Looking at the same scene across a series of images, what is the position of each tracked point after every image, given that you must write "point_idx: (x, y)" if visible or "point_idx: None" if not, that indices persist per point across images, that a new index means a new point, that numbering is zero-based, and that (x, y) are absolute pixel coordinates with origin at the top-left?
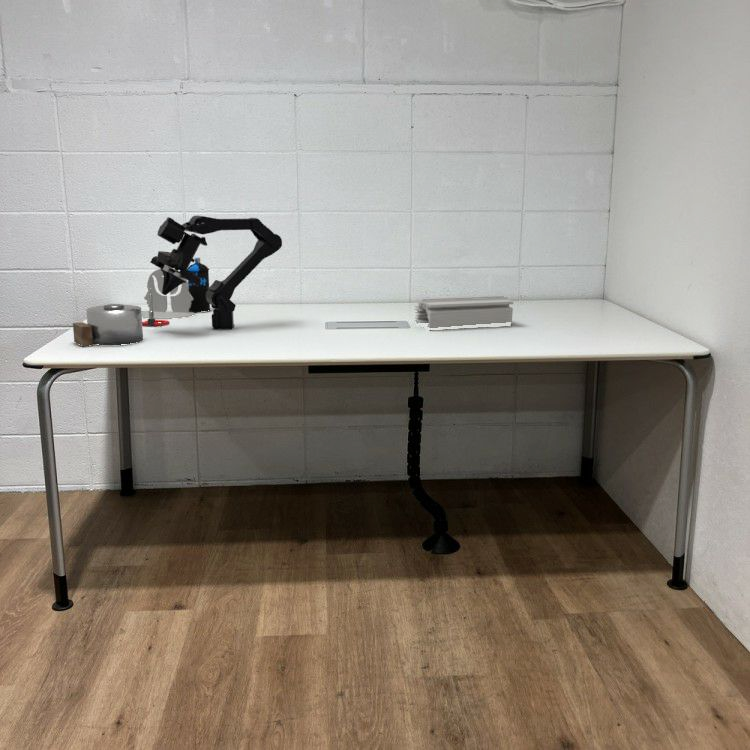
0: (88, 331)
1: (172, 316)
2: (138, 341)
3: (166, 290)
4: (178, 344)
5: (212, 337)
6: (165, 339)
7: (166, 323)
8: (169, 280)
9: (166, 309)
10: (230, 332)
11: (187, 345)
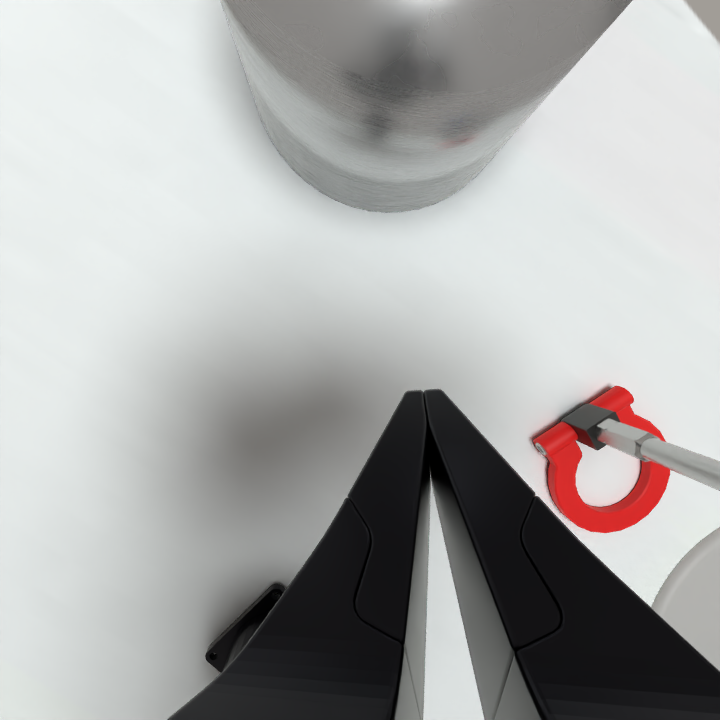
0: None
1: (684, 615)
2: (262, 121)
3: (387, 438)
4: (67, 236)
5: (107, 467)
6: (232, 267)
7: (552, 491)
8: (362, 614)
9: None
10: (157, 605)
11: (10, 253)
